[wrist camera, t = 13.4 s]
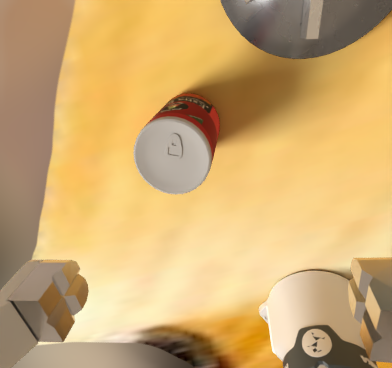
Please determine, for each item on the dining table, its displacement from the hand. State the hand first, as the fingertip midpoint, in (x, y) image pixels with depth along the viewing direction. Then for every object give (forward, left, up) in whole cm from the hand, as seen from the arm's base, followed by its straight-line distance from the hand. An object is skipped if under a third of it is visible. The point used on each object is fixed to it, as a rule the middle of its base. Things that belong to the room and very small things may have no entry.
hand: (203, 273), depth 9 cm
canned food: (-2, +7, -29) cm, 30 cm away
